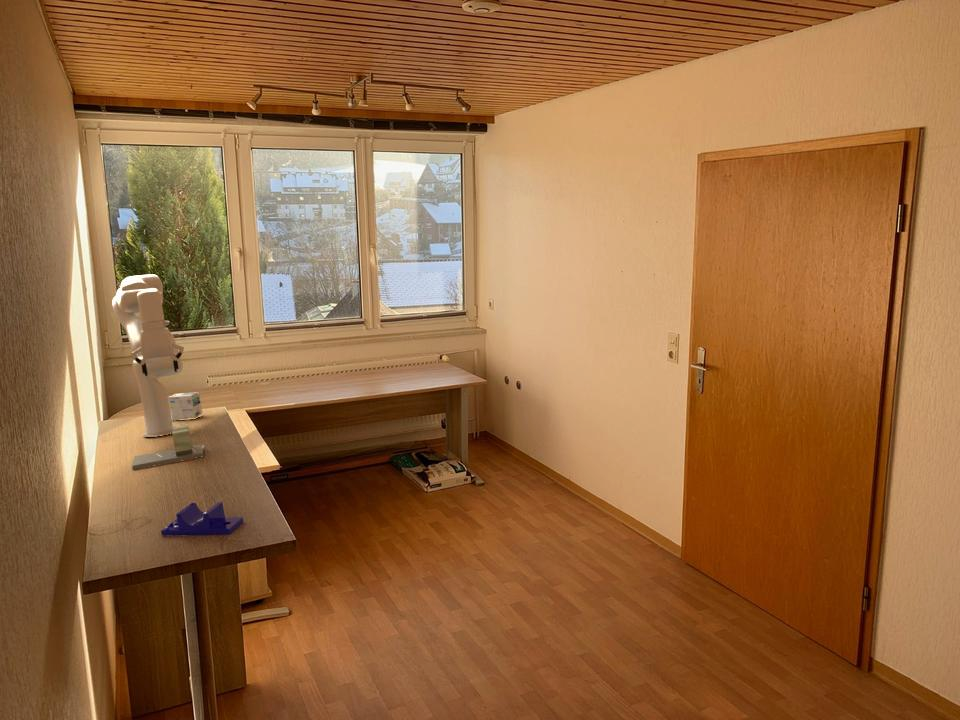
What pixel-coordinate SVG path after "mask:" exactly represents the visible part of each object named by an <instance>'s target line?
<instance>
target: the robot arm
mask: <svg viewBox="0 0 960 720" xmlns="http://www.w3.org/2000/svg"><path fill="white" fill-rule="evenodd" d="M163 285H164V284H163V282H162V279H161V278H160V277H159V276H158V275H156V274H153V273H152V274H142V275H140V274H139V275H131V276H126V277H125V278H124V279H123V280H122V281H121V283H120V287H119V288H118V289H117V291H116V295H115V296H114V297H113V298H112V303H111V305H112V308H113V312H114V314H115V316H116V319H117V320H118V322H119V323H120V325H122V327H123V329H124V330H125V332H126V336H127V338H128V342H129V346H130V348H131V351H132V352H131V353H130V356H131V357H132V359H133V361H132V370H133V373H134V376H135V378H136V382H137V386H138V389H139V390H138V391H139V395H140V400H141V407H142V412H143V418H144V423H145V429H146V430H145V431H144V432H143V433H142V438H145V437H155V436H160V435H167V434H170V433H172V432H173V428H174V427H175V426H174V425H173V421H172V415H171V409H170V404H169V396H168V391H167V388H166V385H165V384H164V383H163V382H161V381H159V380H158V379H160V378H165V377H170V376H175V375H176V376H177V375H179V374H180V373H181V372H182V371H183V368H184V367H183V365H184V363H183V360H182V357H181V356H182V355H183V352H184V349H185V348H184V346H182V345H179V344H177V342H176V338H175V337H174V334H173V333H172V332H171V331H170V330H169V328H168V327H166V326H168V325H170V321H169V320H165V315H164V311H163V310H164V309H163V304H164V296H163V295H164V294H163V293H164V288H163V287H164V286H163ZM138 313H139V316H138V315H137V314H138ZM170 435H171V434H170ZM167 436H168V435H167Z"/></svg>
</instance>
